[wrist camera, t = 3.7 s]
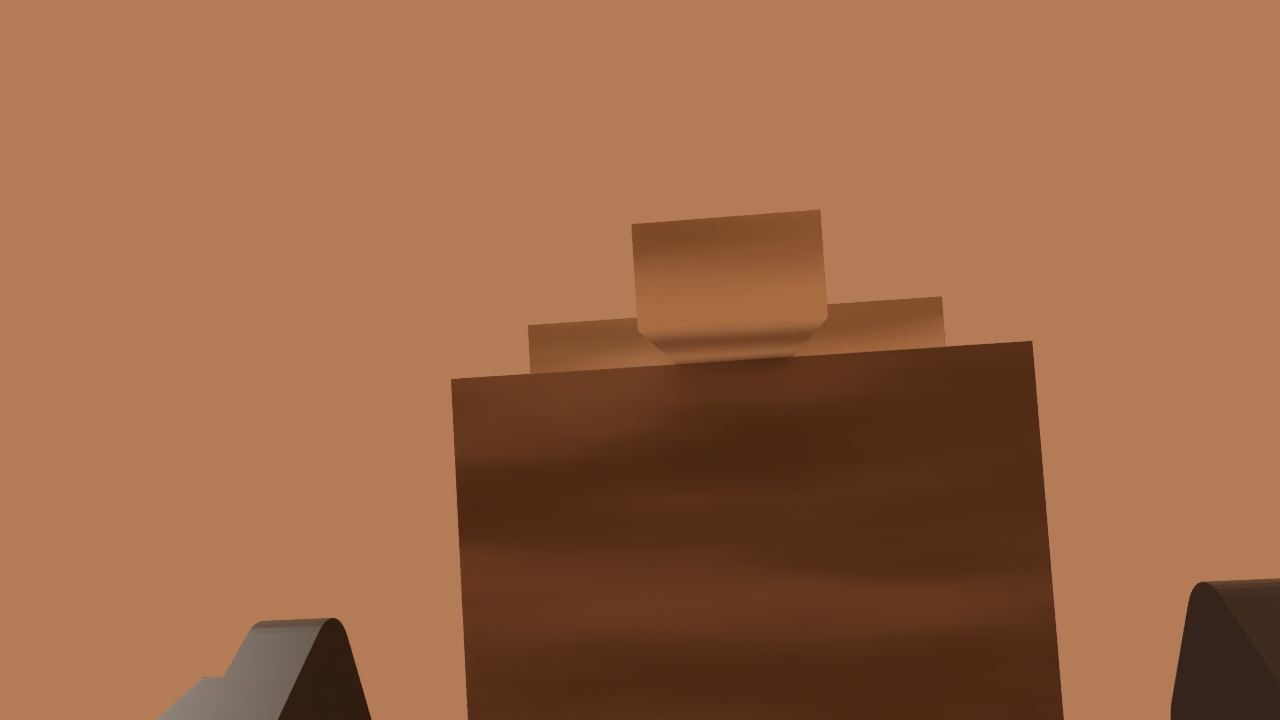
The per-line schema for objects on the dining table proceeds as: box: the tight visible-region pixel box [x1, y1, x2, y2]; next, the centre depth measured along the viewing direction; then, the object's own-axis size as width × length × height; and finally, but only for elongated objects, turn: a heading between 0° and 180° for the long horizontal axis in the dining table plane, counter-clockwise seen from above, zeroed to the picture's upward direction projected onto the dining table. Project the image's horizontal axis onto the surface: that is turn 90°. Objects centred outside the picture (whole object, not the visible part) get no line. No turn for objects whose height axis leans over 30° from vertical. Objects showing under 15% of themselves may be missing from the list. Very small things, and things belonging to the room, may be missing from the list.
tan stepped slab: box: [528, 210, 946, 374], centre depth 27 cm, size 23×10×2 cm, turn 175°
